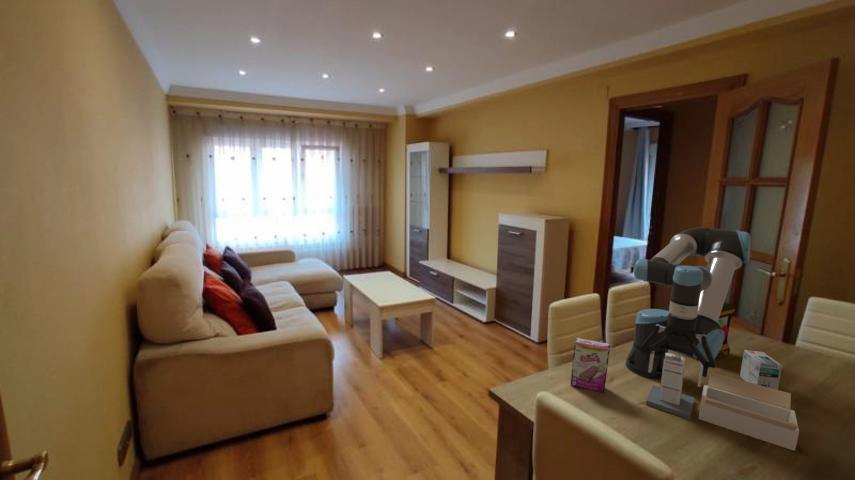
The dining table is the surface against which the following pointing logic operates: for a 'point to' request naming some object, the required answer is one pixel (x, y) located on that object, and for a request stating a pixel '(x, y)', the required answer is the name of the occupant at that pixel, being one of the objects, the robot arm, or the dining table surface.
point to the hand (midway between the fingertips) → (673, 377)
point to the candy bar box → (590, 364)
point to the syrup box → (672, 378)
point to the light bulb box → (760, 369)
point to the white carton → (750, 410)
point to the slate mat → (680, 410)
